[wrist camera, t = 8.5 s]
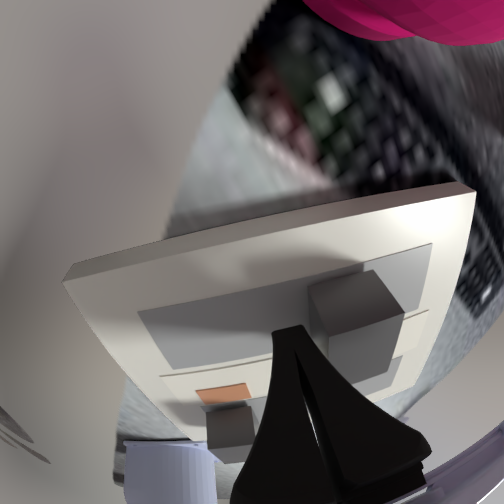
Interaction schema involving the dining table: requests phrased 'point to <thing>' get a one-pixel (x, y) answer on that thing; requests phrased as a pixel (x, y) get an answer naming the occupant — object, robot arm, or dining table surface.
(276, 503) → the robot arm
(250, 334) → the switch panel
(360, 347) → the tab
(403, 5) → the pepper mill
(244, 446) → the dark grey block
